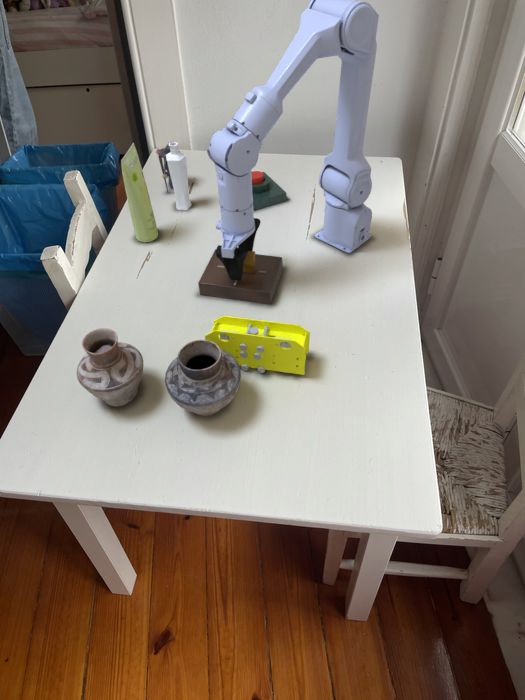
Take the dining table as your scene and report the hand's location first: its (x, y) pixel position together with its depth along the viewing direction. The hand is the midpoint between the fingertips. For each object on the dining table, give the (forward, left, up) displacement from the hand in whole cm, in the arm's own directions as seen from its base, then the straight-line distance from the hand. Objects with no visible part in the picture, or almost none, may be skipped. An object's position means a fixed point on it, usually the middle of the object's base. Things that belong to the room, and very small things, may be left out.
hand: (241, 266), depth 93 cm
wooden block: (0, 0, -1) cm, 1 cm away
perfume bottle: (+31, -11, -4) cm, 33 cm away
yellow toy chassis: (-17, +13, -4) cm, 22 cm away
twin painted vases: (-11, +28, -4) cm, 31 cm away
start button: (+21, -26, 0) cm, 33 cm away
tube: (+27, +3, -4) cm, 27 cm away
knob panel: (0, 0, -4) cm, 4 cm away
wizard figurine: (+39, -15, -4) cm, 42 cm away
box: (+21, -26, -4) cm, 34 cm away
